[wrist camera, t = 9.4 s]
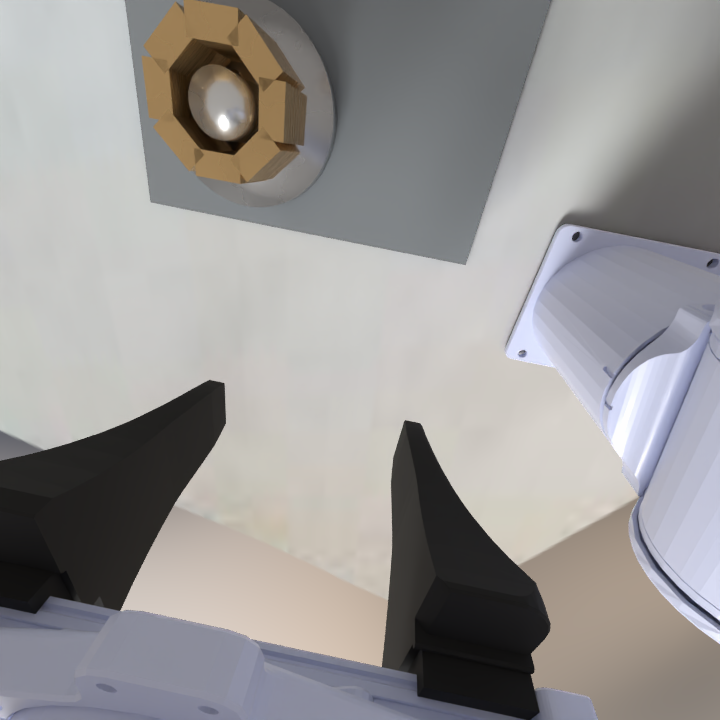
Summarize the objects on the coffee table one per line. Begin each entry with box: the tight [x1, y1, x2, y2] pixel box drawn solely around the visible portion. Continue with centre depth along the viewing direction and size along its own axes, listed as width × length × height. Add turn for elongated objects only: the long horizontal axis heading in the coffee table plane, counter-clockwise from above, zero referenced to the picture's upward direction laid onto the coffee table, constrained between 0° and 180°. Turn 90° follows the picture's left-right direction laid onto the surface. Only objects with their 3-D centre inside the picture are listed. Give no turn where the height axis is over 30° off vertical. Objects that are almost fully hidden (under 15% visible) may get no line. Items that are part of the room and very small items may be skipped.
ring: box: [142, 0, 307, 184], centre depth 15 cm, size 5×5×3 cm
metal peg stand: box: [188, 0, 337, 207], centre depth 15 cm, size 8×8×4 cm
